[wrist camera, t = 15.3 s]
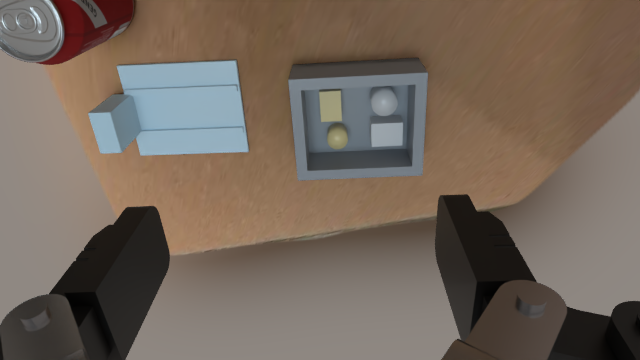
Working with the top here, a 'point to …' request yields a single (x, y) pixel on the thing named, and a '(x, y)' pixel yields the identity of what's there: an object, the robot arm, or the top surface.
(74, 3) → the soda can
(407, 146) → the grey shallow tray
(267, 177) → the top surface
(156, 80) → the lid
